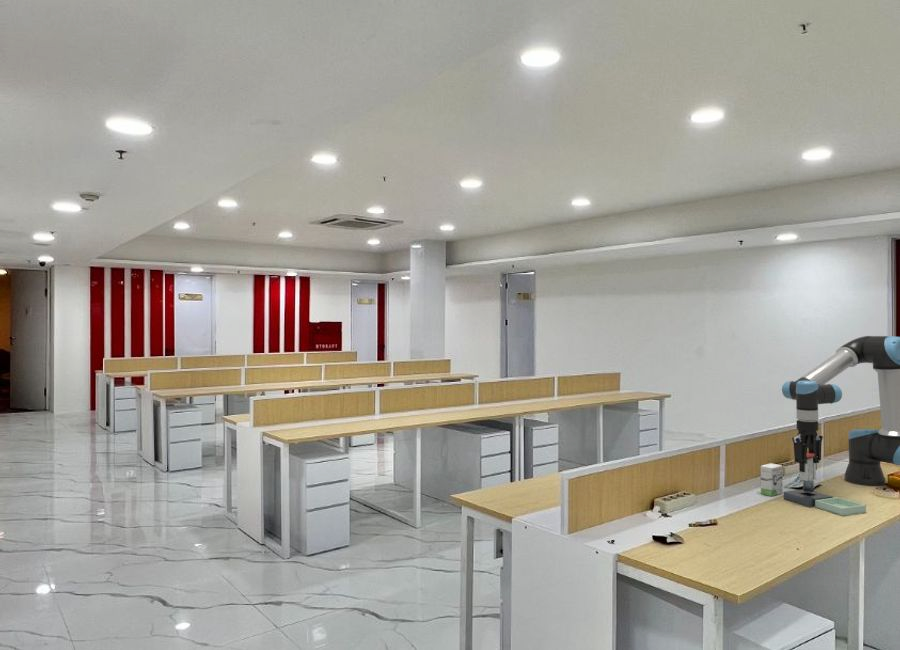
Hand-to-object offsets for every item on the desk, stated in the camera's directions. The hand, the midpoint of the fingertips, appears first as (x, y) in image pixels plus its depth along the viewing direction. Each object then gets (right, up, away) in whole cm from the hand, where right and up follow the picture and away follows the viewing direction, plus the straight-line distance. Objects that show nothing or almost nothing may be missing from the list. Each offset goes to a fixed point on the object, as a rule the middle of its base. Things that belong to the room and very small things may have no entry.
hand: (808, 479), depth 249 cm
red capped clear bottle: (0, -5, 0) cm, 5 cm away
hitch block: (0, -9, 0) cm, 9 cm away
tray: (+6, -9, -11) cm, 15 cm away
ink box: (-8, -9, +12) cm, 17 cm away
